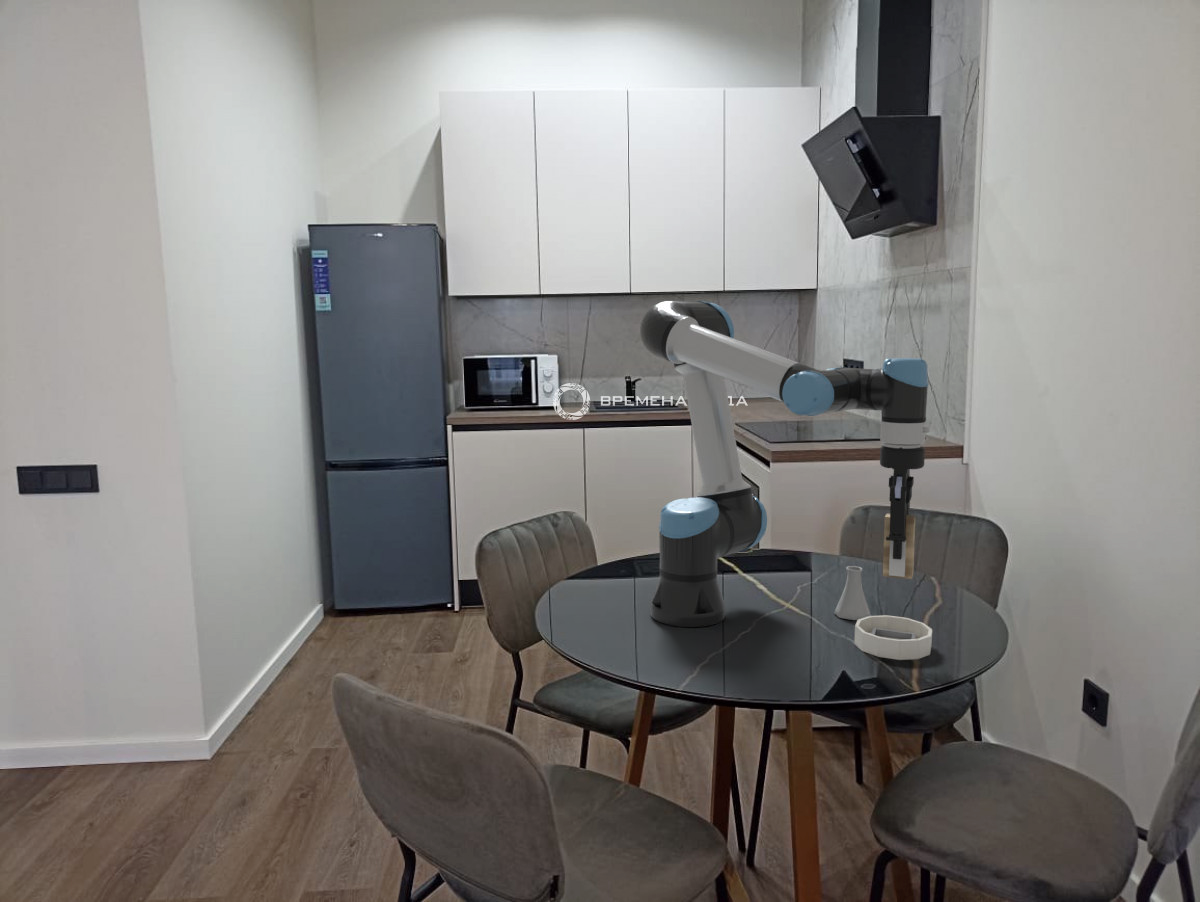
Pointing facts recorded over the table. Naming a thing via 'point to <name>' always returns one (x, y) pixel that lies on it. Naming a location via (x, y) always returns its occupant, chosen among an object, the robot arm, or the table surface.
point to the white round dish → (893, 637)
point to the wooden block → (909, 546)
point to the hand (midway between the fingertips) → (897, 572)
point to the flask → (853, 597)
